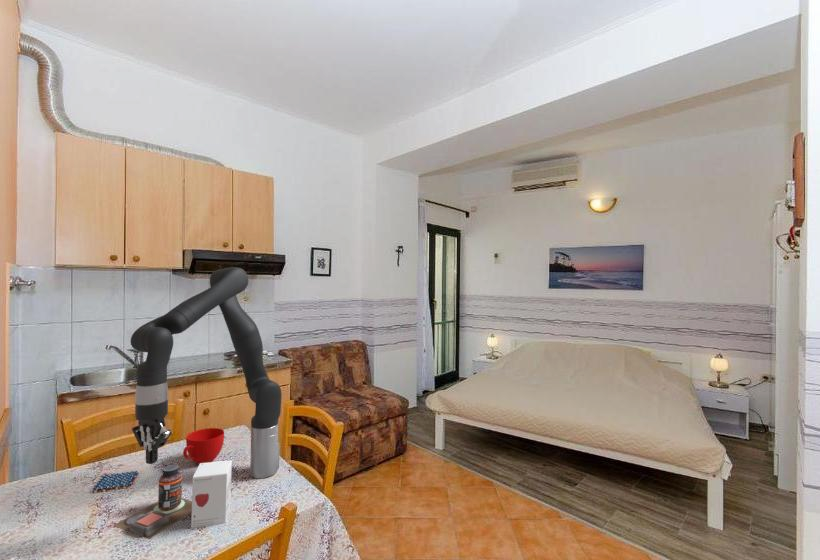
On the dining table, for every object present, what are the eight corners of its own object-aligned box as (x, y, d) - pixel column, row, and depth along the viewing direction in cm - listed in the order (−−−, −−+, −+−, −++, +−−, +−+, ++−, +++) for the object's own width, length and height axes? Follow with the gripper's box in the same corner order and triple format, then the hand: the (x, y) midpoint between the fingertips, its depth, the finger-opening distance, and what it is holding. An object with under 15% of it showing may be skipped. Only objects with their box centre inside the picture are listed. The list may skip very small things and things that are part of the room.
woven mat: (130, 489, 128) (131, 483, 128) (91, 495, 125) (91, 489, 125) (139, 475, 138) (139, 469, 138) (103, 480, 134) (103, 474, 134)
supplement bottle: (170, 512, 113) (171, 473, 113) (153, 510, 114) (153, 471, 114) (186, 501, 119) (186, 464, 119) (169, 499, 120) (169, 462, 120)
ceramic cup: (168, 471, 140) (169, 443, 140) (203, 451, 157) (203, 426, 157) (199, 475, 137) (199, 447, 138) (231, 455, 154) (231, 429, 154)
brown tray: (170, 497, 123) (170, 488, 123) (204, 508, 118) (204, 498, 118) (112, 529, 107) (112, 518, 107) (148, 542, 102) (149, 531, 102)
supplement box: (189, 532, 106) (191, 477, 107) (197, 513, 115) (198, 462, 115) (226, 526, 109) (227, 473, 109) (231, 509, 118) (232, 459, 118)
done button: (151, 520, 110) (152, 512, 110) (162, 523, 108) (163, 516, 108) (136, 529, 106) (136, 521, 106) (147, 533, 104) (147, 525, 104)
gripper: (181, 398, 108) (181, 460, 108) (148, 393, 113) (148, 453, 113) (155, 406, 101) (155, 473, 101) (121, 400, 106) (121, 464, 106)
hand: (151, 462), depth 107 cm, fingers closed
